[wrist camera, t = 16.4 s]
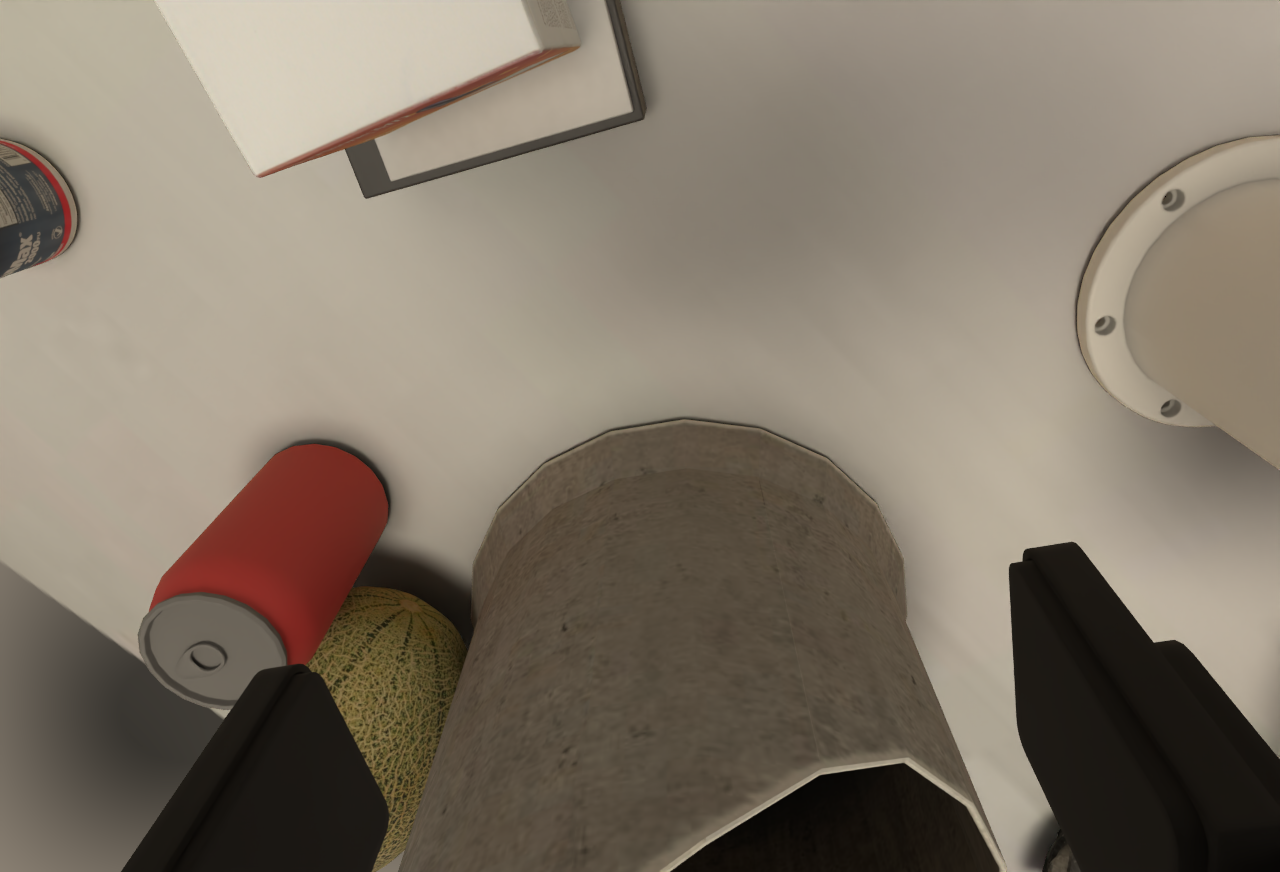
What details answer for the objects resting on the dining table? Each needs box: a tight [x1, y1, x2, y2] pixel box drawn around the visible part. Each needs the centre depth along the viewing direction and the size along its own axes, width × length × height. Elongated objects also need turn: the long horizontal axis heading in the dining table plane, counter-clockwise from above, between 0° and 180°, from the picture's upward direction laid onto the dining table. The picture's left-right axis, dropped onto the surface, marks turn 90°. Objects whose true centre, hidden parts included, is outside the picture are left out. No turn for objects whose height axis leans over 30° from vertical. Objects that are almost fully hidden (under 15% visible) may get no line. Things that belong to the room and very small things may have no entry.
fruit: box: [306, 586, 468, 872], centre depth 41 cm, size 11×11×15 cm
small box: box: [154, 0, 581, 178], centre depth 23 cm, size 8×6×10 cm
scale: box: [345, 0, 646, 199], centre depth 30 cm, size 11×10×5 cm
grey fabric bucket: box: [398, 419, 1007, 872], centre depth 34 cm, size 23×32×25 cm
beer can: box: [138, 444, 388, 710], centre depth 36 cm, size 7×7×12 cm
